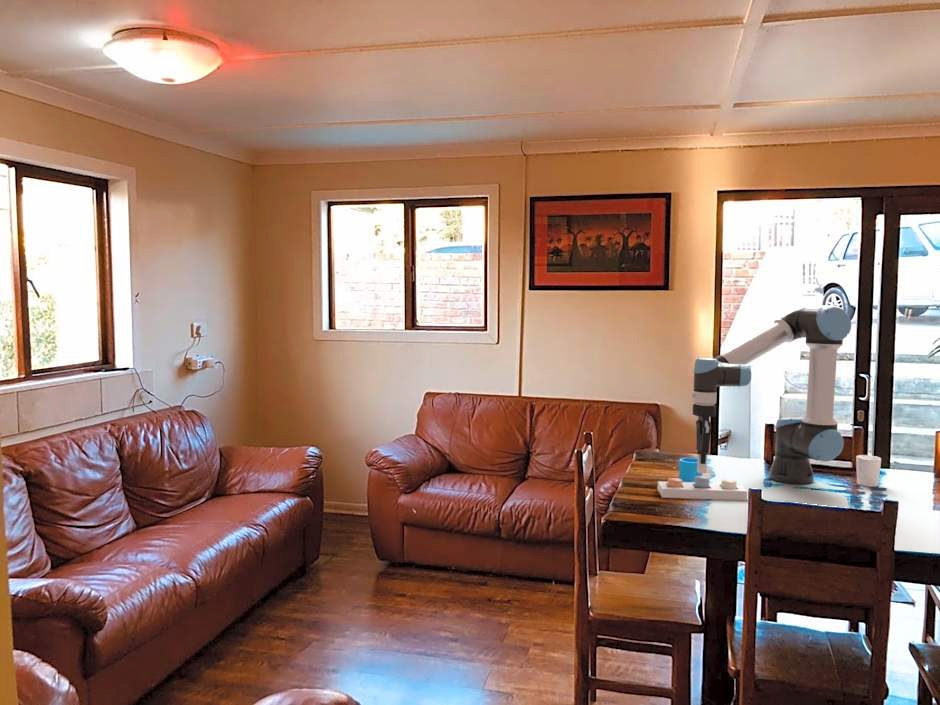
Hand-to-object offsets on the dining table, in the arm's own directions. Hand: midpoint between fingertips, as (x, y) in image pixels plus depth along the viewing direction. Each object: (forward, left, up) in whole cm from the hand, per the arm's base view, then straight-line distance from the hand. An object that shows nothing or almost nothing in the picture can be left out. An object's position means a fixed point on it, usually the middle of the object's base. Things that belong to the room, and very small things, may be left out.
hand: (701, 472), depth 250 cm
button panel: (0, 0, -8) cm, 8 cm away
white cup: (-63, -21, -8) cm, 67 cm away
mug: (+1, -19, -8) cm, 21 cm away
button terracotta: (+9, 0, -7) cm, 11 cm away
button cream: (-9, 0, -7) cm, 11 cm away
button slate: (0, 0, -6) cm, 6 cm away
